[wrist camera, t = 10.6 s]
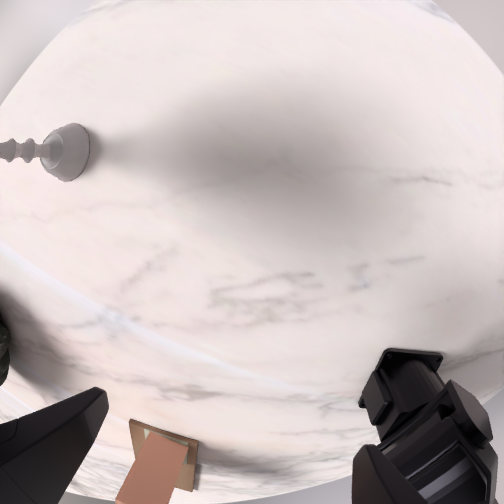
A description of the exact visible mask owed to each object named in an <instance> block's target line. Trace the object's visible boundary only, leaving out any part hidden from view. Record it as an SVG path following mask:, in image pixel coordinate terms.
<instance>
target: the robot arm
mask: <svg viewBox="0 0 504 504" xmlns="http://www.w3.org/2000/svg"><path fill="white" fill-rule="evenodd" d="M388 354H390V355H389V356H387V355H388ZM442 360H443V356H442V355H441V354H440V353H431V352H419V351H408V350H399V349H386V350H385V351H384V352H383V353H382V355H381V358H380V360H379V362H378V364H377V366H376V368H375V370H374V371H373V372H372V374H371V376H370V378H369V380H368V382H367V384H366V386H365V388H364V390H363V391H362V396H361V398H360V400H359V401H358V404H359V407H360V408H366V409H367V412H368V415H369V419H370V422H371V424H372V425H373V426H376V428H377V431H378V434H379V438H380V441H381V443H380V444H378V445H377V446H376V445H373V444H366V445H363V446H362V447H361V449H360V450H359V452H358V453H357V454H356V455H355V457H354V459H353V473H352V504H498V502H497V500H496V499H495V492H496V482H497V469H498V456H497V454H496V453H495V451H494V449H493V448H492V446H491V445H490V443H489V442H490V441H491V440H492V439H493V435H492V430H491V426H490V421H489V417H488V413H487V412H486V410H485V409H484V408H483V406H482V405H481V404H480V403H479V401H478V400H477V399H476V398H475V396H473V395H472V394H471V393H469V392H468V391H466V390H465V389H464V388H462V387H461V386H459V385H458V384H457V383H455V382H454V381H452V380H451V379H450V380H449V381H448V382H447V383H446V384H444V382H443V381H442V379H441V378H440V376H439V375H438V373H437V370H438V368H439V366H440V364H441V362H442ZM362 403H363V404H362ZM108 410H109V403H108V398H107V393H106V391H105V390H103V389H101V388H98V387H93V388H91V389H89V390H86V391H84V392H82V393H79V394H77V395H75V396H72V397H70V398H68V399H65V400H63V401H60V402H58V403H56V404H53V405H51V406H48V407H46V408H43V409H41V410H38V411H36V412H33V413H31V414H28V415H25V416H23V417H20V418H19V419H14V420H12V421H9V422H6V423H3V424H0V504H58V502H59V501H60V499H61V497H62V496H63V494H64V492H65V490H66V489H67V487H68V485H69V483H70V482H71V480H72V478H73V477H74V475H75V473H76V472H77V470H78V468H79V467H80V465H81V463H82V462H83V460H84V458H85V457H86V455H87V453H88V452H89V450H90V448H91V447H92V445H93V443H94V441H95V439H96V437H97V435H98V432H99V430H100V428H101V426H102V423H103V421H104V419H105V417H106V415H107V412H108Z"/></svg>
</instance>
